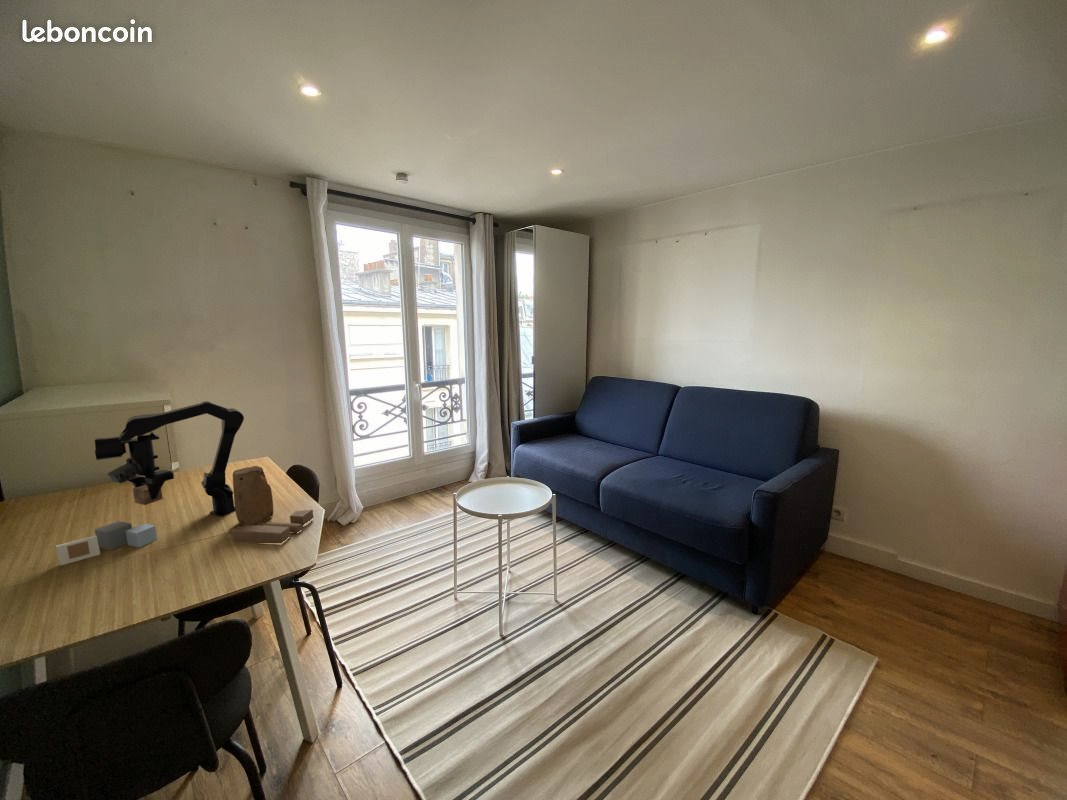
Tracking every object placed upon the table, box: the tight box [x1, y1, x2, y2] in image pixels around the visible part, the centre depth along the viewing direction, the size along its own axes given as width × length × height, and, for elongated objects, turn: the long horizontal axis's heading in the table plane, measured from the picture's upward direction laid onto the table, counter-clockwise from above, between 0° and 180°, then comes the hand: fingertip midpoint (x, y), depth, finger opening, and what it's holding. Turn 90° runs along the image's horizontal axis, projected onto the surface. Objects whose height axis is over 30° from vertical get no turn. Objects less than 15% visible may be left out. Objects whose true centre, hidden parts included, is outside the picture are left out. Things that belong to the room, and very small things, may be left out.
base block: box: [94, 520, 133, 551], centre depth 128 cm, size 6×6×6 cm
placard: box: [55, 535, 101, 566], centre depth 119 cm, size 1×8×6 cm, turn 139°
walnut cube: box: [132, 485, 164, 506], centre depth 135 cm, size 5×5×5 cm
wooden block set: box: [231, 509, 314, 543], centre depth 138 cm, size 17×6×18 cm
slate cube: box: [125, 523, 158, 549], centre depth 129 cm, size 5×5×5 cm
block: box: [232, 465, 274, 527], centre depth 143 cm, size 11×8×20 cm
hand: (148, 498), depth 136 cm, fingers closed on walnut cube, 5 cm apart
